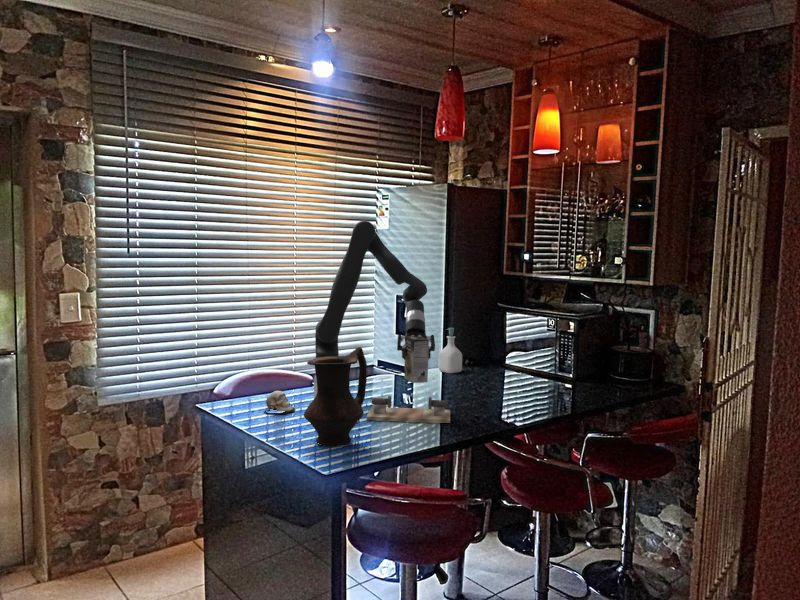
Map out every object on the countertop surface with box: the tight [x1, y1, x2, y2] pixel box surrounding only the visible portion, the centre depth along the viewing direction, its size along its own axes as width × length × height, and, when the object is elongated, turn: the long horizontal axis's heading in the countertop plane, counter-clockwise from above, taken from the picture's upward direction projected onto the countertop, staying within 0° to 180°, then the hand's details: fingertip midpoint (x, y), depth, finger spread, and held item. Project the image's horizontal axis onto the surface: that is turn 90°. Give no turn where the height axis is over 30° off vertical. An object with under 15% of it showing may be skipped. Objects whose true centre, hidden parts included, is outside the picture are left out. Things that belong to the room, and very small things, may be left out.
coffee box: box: [403, 335, 430, 384], centre depth 230 cm, size 9×6×16 cm
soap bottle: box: [438, 327, 463, 374], centre depth 316 cm, size 10×10×23 cm
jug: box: [303, 346, 368, 447], centre depth 195 cm, size 21×18×30 cm
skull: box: [265, 390, 296, 413], centre depth 234 cm, size 12×10×10 cm
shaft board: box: [366, 395, 451, 424], centre depth 228 cm, size 30×14×8 cm, turn 85°
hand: (416, 358), depth 229 cm, fingers closed on coffee box, 8 cm apart
